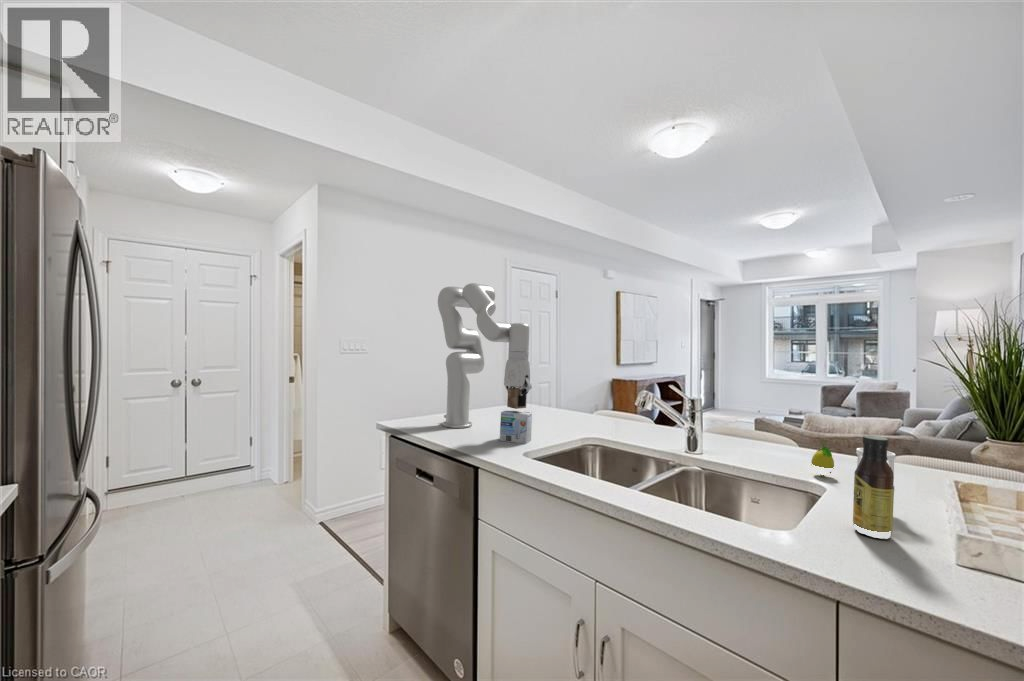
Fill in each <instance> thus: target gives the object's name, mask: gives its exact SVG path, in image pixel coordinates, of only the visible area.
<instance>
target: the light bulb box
mask: <svg viewBox="0 0 1024 681" xmlns="http://www.w3.org/2000/svg"><path fill="white" fill-rule="evenodd" d="M532 420H533V412H532V411H525V410H523V411H522V410H513V409H512V410H511V409H505V410H503V411H501V412H500V425H499V427H500V429H499V441H500V442H508V443H509V442H510V443H515V444H516V443H517V444H524V445H525V444H526V445H527V444H528V443H529V442H531V441H532V427H533V421H532Z"/></svg>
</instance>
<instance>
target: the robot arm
mask: <svg viewBox="0 0 1024 681" xmlns="http://www.w3.org/2000/svg"><path fill="white" fill-rule="evenodd" d="M494 290H495V289H493V287H492V286H490V285H486V284H480V283H473V282H472V283H467V284H465V285H464V287H460V286H445V287H443V288H442V289H440V291H439V293H438V296H437V308H438V312H439V314H440V318H441V320H442V327H443V332H444V339H445V342H446V347H448V348H449V349H450V350H459V351H454V352H451V353H449V354H448V355H447V357H446V358H445V367H446V368H445V369H446V374H447V375H446V376H447V385H446V386H447V387H446V388H447V390H446V392H447V393H446V394H447V395H446V413H445V414H444V415H443V418H444V419H445V420H444V421H443V422H442V426H443V427H446V428H450V429H462V428H463V429H464V428H466V429H467V428H470V427H472V426H473V423H472V422H471V421H469V420H470V419H469V418H470V396H471V394H470V389H471V387H470V386H471V385H470V381H469V378H468V377H467V374H469V375H473V374H479V373H481V372H482V371H483V370H484V367H485V357H484V349H483V347H482V341H481V337H480V335H479V333H478V331H477V330H475V329H473V328H465V327H464V324H463V317H462V316H461V314H460V313H459V311H458V310H457V309H456V307H459V308H467V309H472V310H473V312H474V313H475V314H476V325H477V326H476V327H477V329H478V330H479V332H480V333H481V334H482V335H483V337H484V338H485V339H486V340H488V341H489V342H492V343H493V342H494V343H508V358H507V360H506V363H505V369H504V379H503V380H504V381H503V385H504V387H505V389H506V392H507V394H508V388H519V394H520V395H519V396H518V406H519V407H521V406H525V403H526V404H527V397H526V395H527V396H528V393H529V391H531V390H532V388H533V387H532V384H531V367H530V361H529V355H530V354H529V353H530V352H529V350H530V325H529V324H527V323H521V322H515V323H510V322H509V323H508V322H502V321H501V322H500V321H499V322H498V321H495V320H493V318H492V316H493V315H494V314H495V311H496V308H497V307H496V303H495V299H496V293H495V291H494ZM522 389H523V391H522Z"/></svg>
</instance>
